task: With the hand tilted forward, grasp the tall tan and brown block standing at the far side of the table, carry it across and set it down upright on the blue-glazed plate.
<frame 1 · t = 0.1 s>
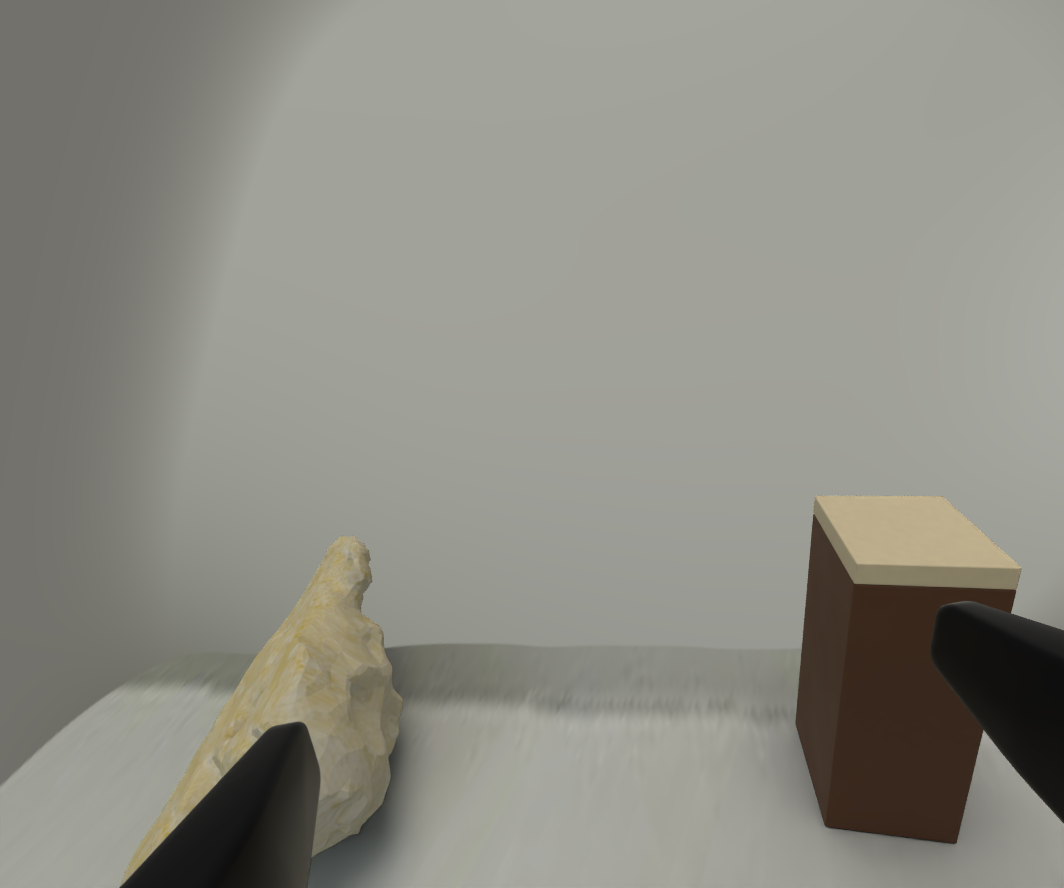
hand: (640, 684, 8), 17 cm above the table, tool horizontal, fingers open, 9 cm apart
tan and brown block: (866, 776, 23), on the table
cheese: (313, 747, 28), on the table
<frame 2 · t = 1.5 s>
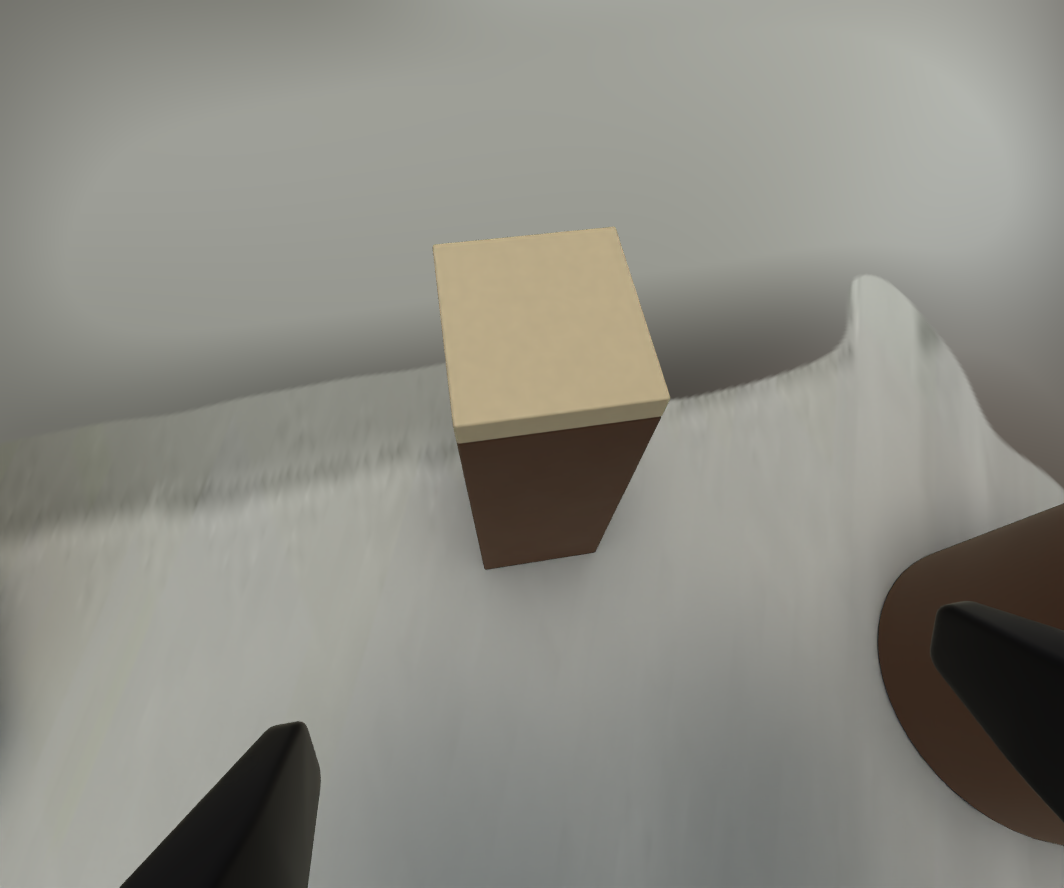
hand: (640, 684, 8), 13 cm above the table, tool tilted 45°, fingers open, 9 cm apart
tan and brown block: (530, 502, 23), on the table
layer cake: (1014, 680, 20), on the table
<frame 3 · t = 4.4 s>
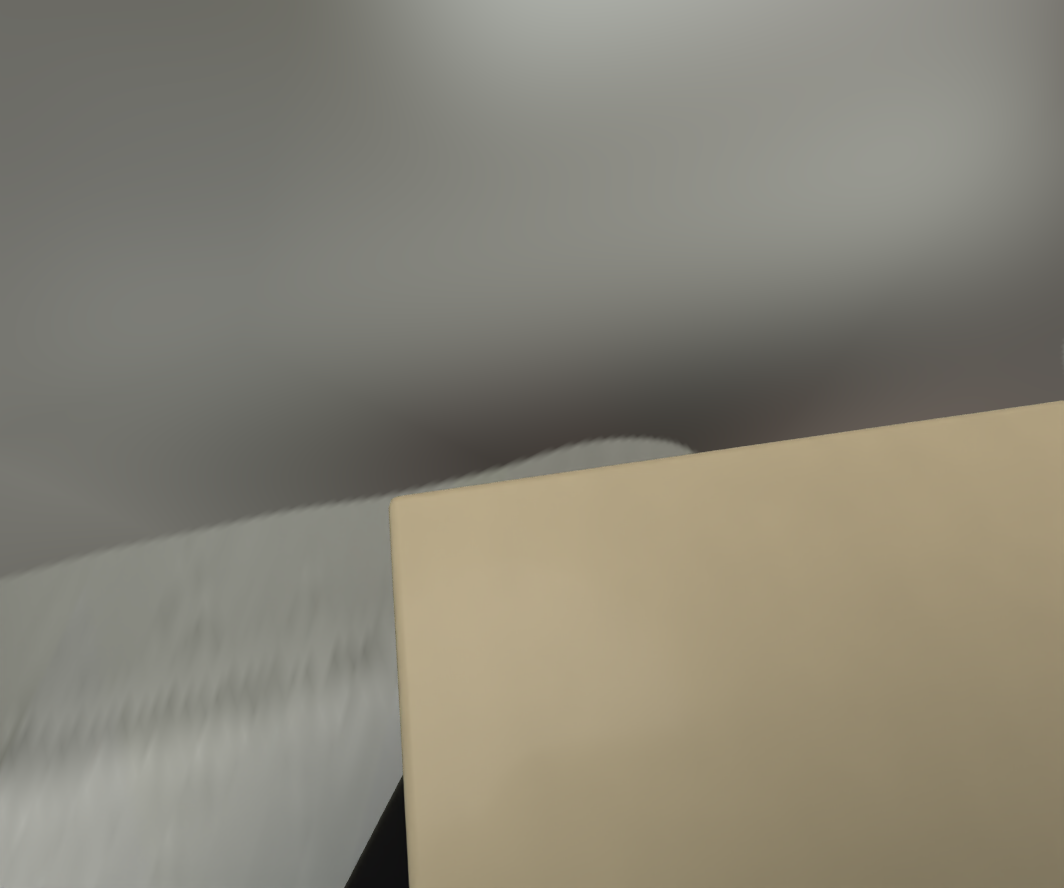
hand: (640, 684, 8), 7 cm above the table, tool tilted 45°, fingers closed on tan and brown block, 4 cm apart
tan and brown block: (596, 759, 13), on the table, touching gripper
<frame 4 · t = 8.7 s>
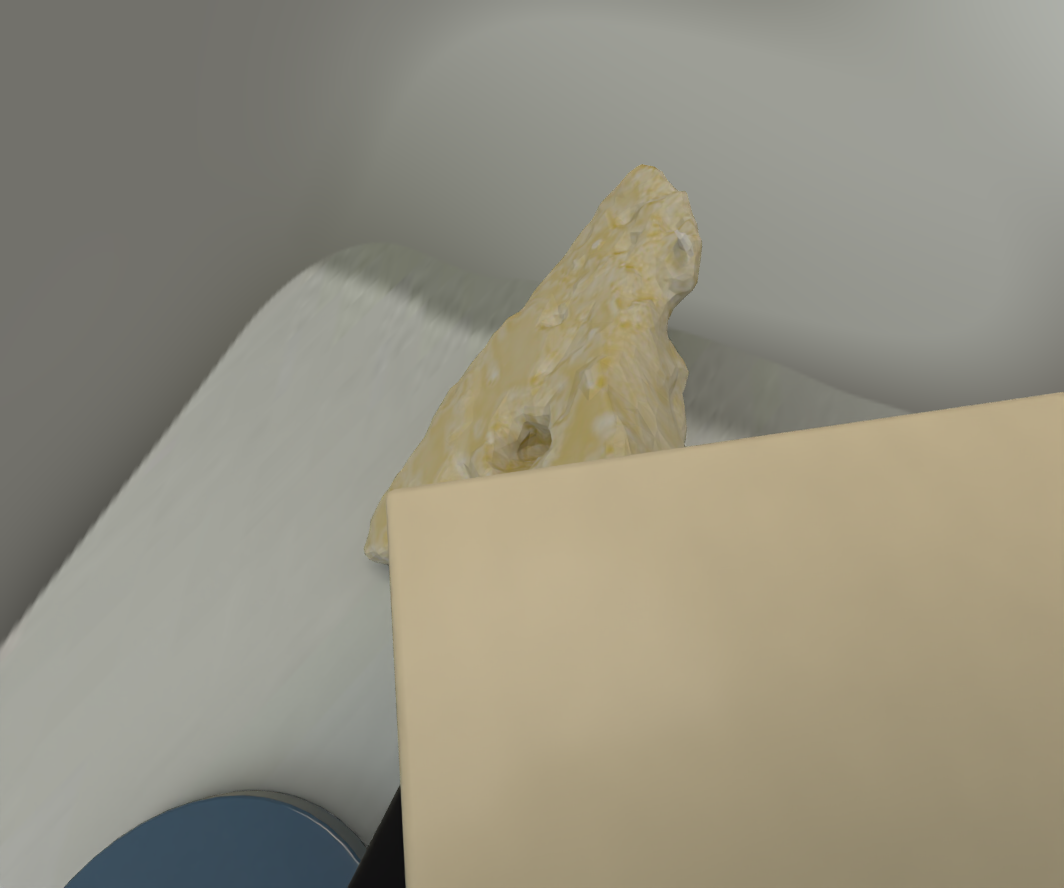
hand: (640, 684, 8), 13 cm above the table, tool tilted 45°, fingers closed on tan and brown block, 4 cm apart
tan and brown block: (598, 758, 13), point 6 cm above the table, touching gripper
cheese: (546, 431, 24), on the table
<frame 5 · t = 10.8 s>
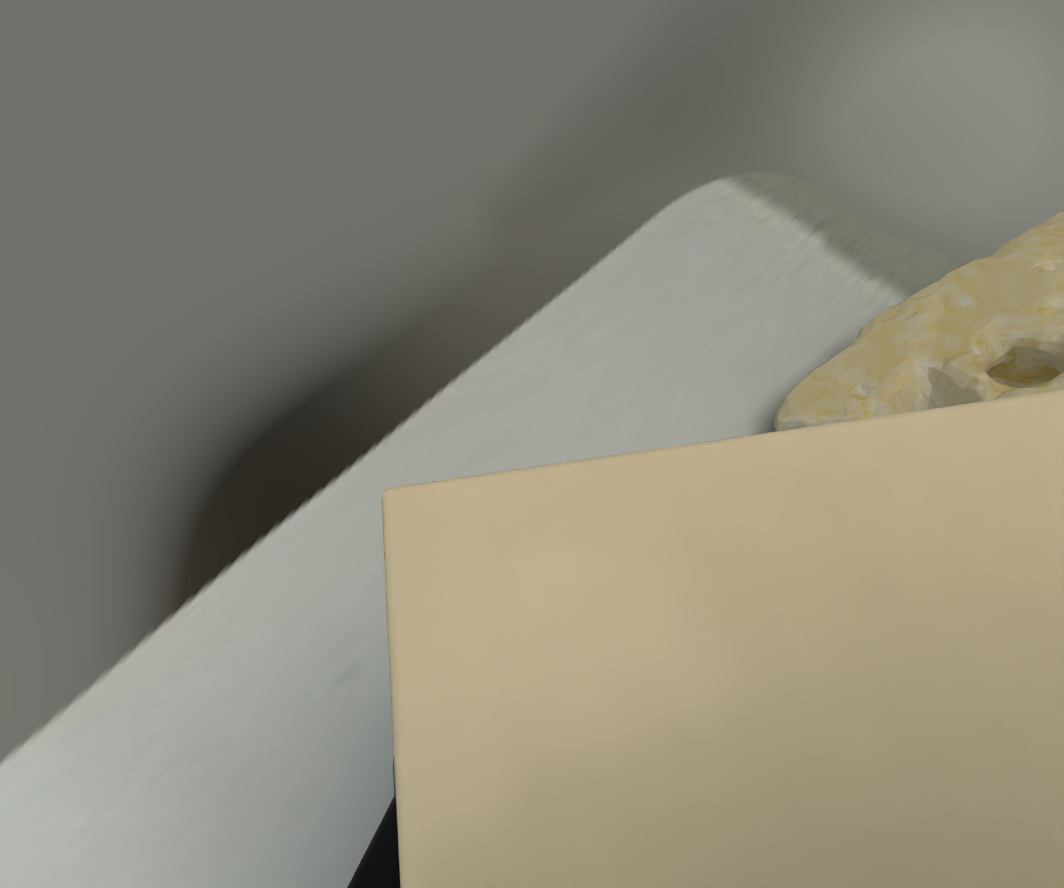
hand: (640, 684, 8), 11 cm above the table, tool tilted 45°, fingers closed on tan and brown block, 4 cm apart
tan and brown block: (597, 757, 13), point 5 cm above the table, touching gripper
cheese: (932, 388, 24), on the table
when the fingers open (8 cm above the table, at t = 12.2 s): tan and brown block stays where it is, resting on plate.
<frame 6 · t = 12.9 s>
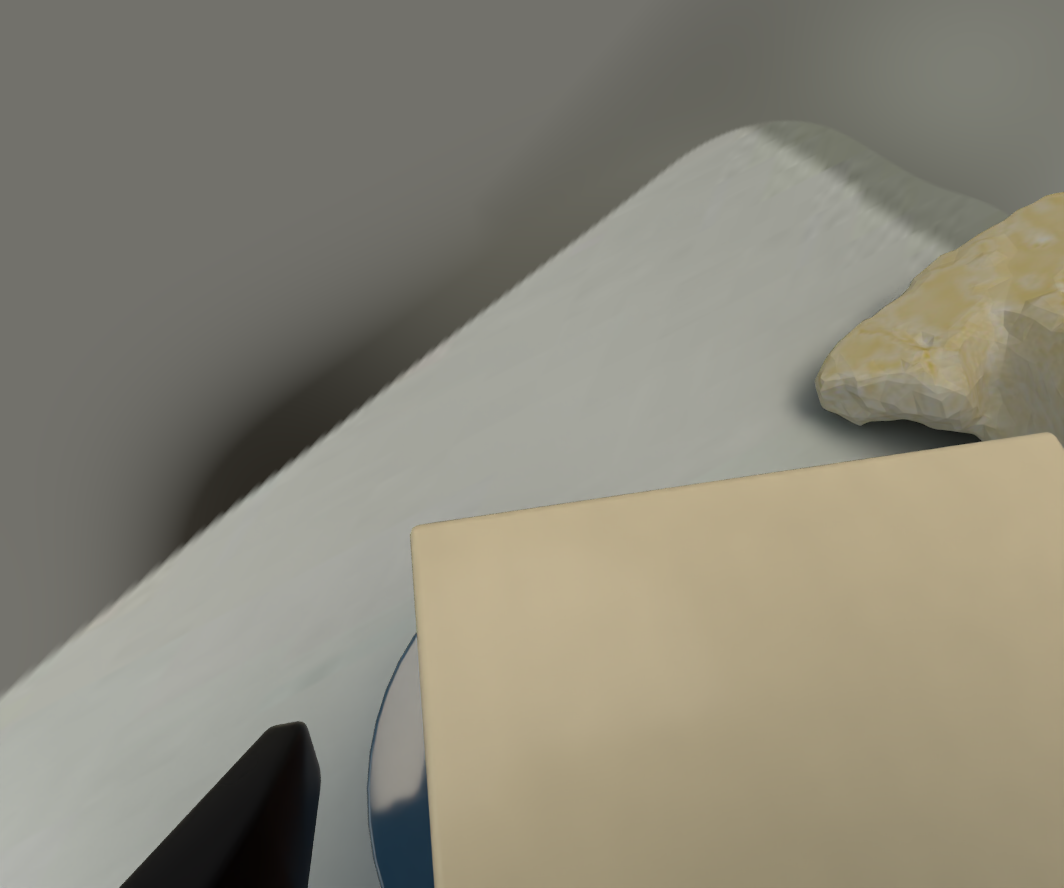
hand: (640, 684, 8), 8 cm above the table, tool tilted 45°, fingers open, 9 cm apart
tan and brown block: (594, 759, 13), point 1 cm above the table, touching plate
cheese: (989, 350, 21), on the table
plate: (588, 756, 14), on the table
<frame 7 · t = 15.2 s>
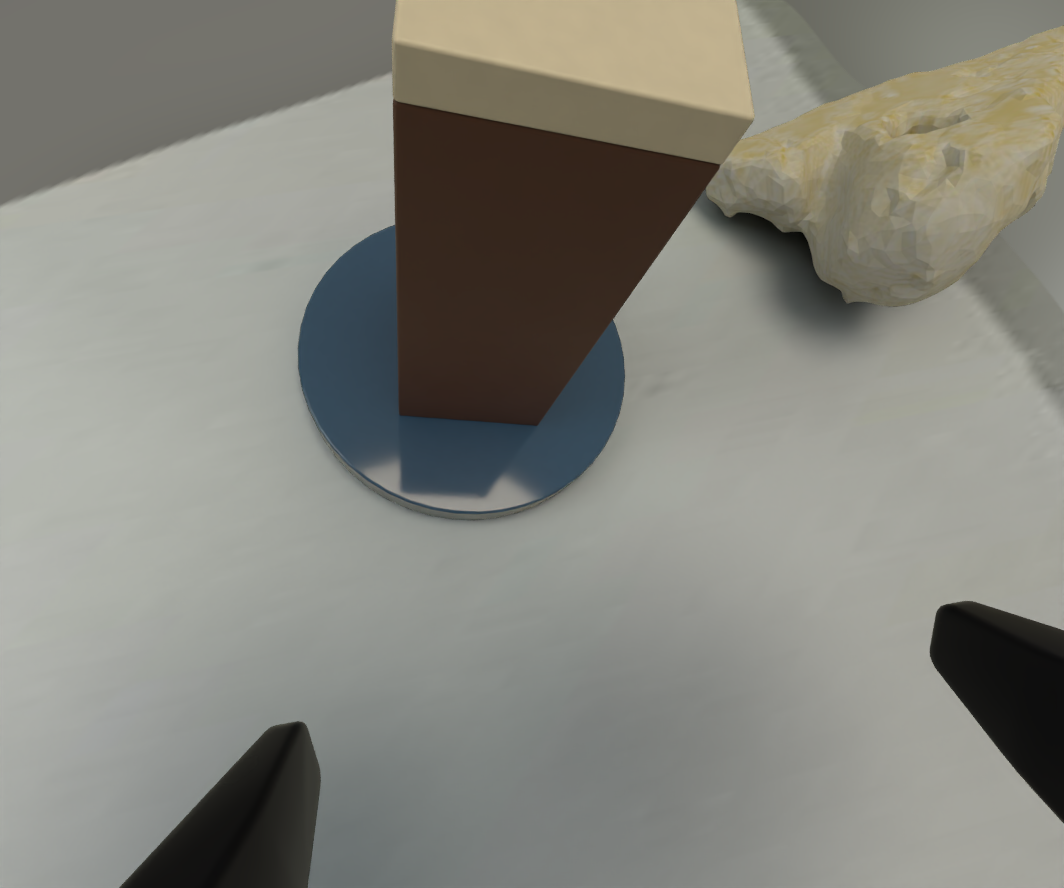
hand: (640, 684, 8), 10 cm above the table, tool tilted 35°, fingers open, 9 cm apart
tan and brown block: (472, 351, 18), point 1 cm above the table, touching plate
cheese: (844, 205, 27), on the table
plate: (468, 367, 19), on the table
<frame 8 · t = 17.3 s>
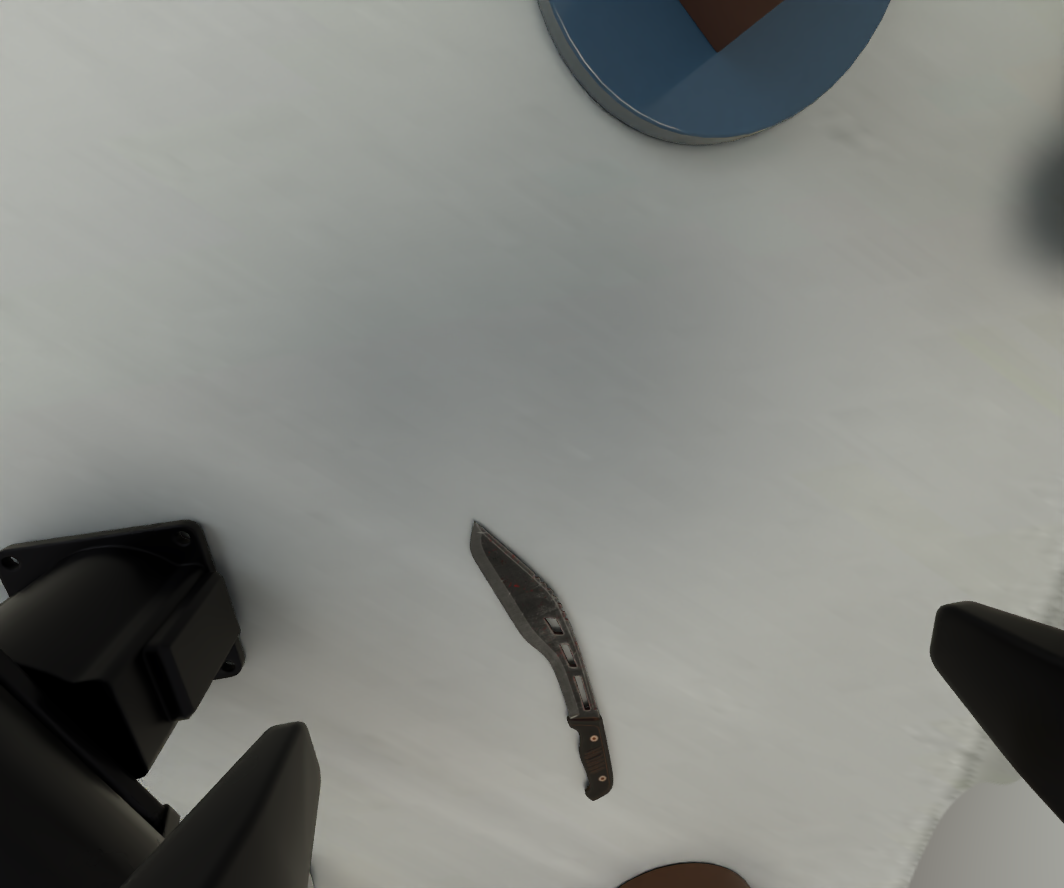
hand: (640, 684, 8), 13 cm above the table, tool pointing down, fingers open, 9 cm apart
knife: (549, 666, 23), on the table
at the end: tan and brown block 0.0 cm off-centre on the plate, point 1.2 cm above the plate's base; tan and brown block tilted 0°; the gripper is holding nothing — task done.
